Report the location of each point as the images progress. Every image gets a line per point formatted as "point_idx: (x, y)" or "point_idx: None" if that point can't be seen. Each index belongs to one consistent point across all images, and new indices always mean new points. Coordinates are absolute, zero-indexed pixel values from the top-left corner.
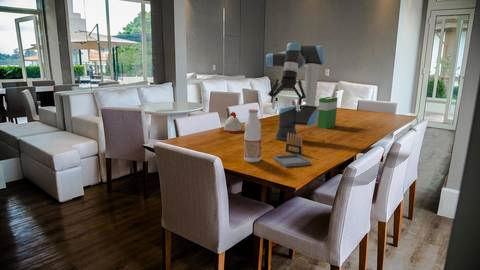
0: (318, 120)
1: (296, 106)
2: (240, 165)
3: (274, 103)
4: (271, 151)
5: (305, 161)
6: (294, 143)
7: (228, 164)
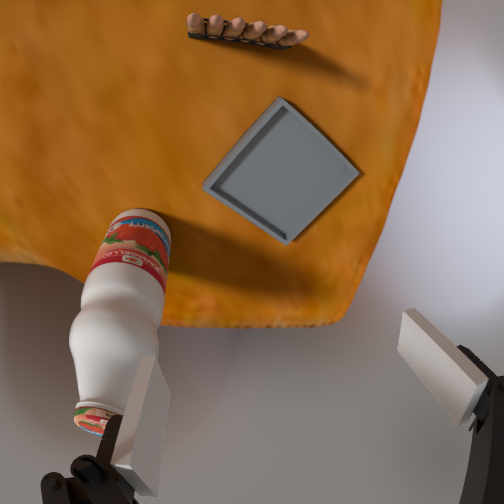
0: None
1: (414, 371)
2: None
3: (153, 418)
4: (128, 82)
5: (343, 184)
6: (245, 35)
7: None
